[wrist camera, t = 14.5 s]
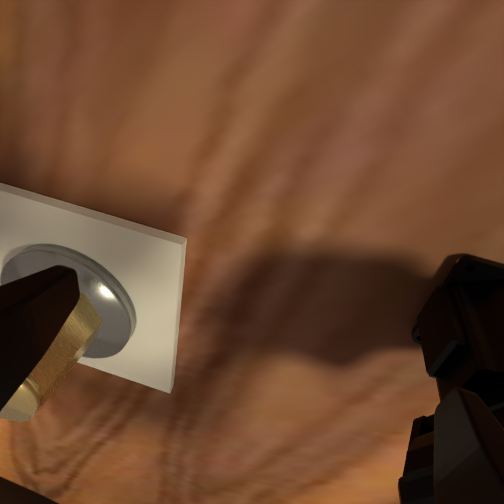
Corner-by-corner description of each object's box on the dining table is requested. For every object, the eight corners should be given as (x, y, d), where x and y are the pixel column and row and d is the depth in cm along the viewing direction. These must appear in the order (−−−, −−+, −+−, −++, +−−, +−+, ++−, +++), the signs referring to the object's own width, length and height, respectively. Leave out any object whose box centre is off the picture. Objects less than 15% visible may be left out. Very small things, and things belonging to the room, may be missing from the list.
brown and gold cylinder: (12, 282, 26) (-80, 357, 21) (72, 274, 24) (-11, 354, 19) (56, 340, 29) (-14, 419, 24) (115, 337, 27) (52, 423, 21)
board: (187, 237, 23) (182, 244, 22) (173, 385, 32) (169, 393, 32) (-69, 162, 24) (-81, 166, 24) (-10, 324, 34) (-17, 330, 33)
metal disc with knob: (136, 268, 24) (78, 338, 19) (137, 361, 30) (92, 432, 25) (-1, 226, 25) (-90, 282, 20) (27, 324, 31) (-37, 386, 26)
